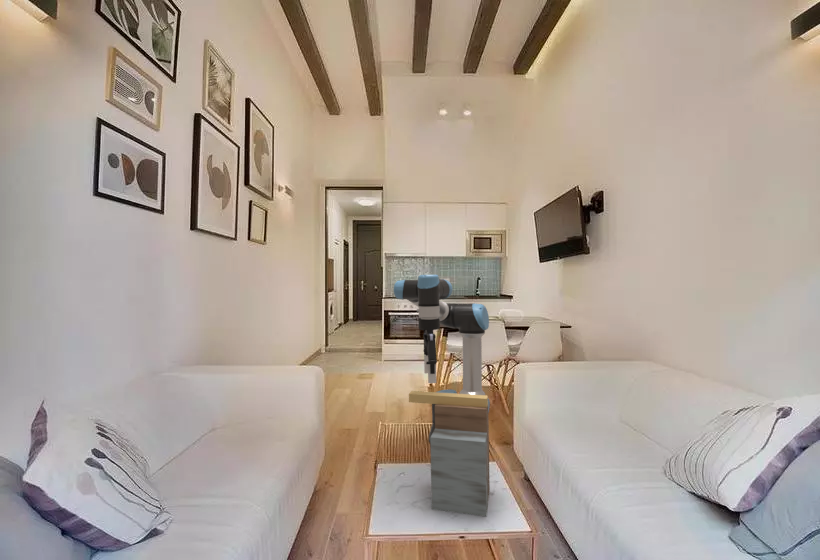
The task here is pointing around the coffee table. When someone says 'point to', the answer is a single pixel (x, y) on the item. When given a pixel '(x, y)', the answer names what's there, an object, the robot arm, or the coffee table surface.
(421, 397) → the ochre batten
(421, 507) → the coffee table surface
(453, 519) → the coffee table surface
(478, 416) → the stepped stand
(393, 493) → the coffee table surface
